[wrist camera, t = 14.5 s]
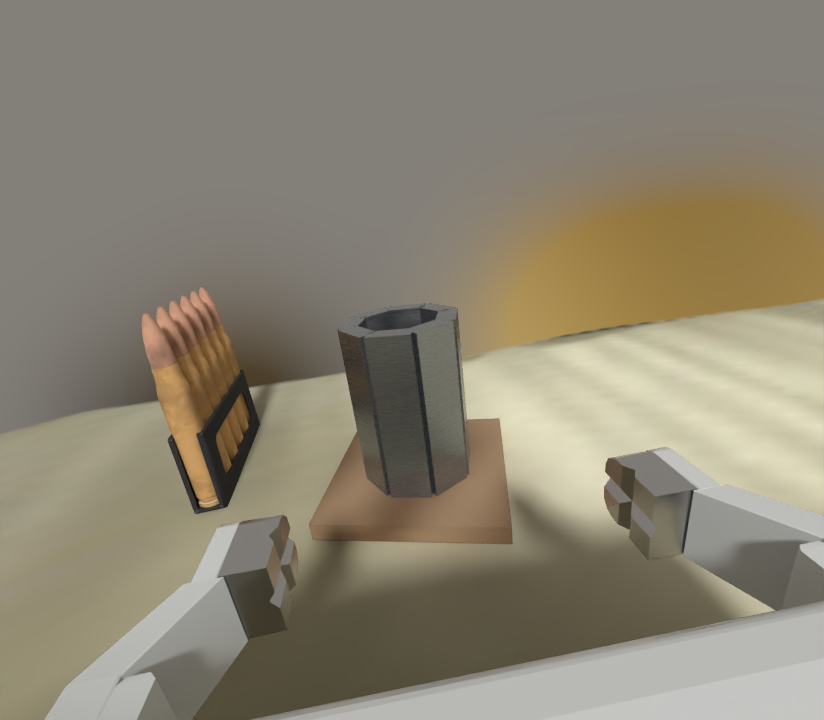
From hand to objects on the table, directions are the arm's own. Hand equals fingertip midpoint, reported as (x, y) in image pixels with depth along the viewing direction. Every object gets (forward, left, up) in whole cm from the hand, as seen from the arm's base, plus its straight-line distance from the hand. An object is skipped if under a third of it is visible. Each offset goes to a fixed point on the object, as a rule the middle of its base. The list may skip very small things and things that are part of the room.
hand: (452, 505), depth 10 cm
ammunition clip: (-17, +14, -8) cm, 23 cm away
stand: (-3, +12, -8) cm, 14 cm away
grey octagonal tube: (-3, +12, -7) cm, 14 cm away
